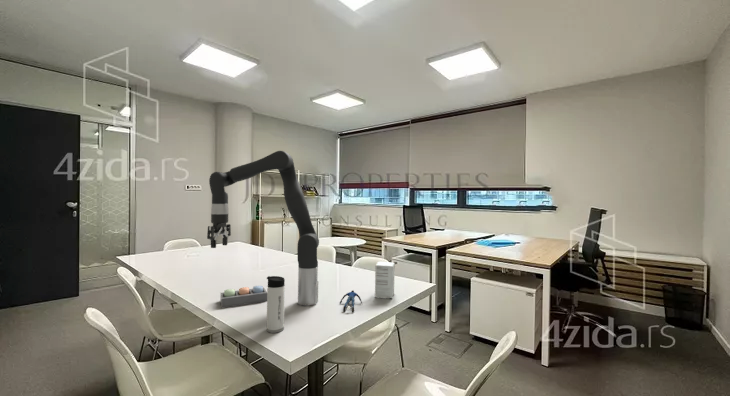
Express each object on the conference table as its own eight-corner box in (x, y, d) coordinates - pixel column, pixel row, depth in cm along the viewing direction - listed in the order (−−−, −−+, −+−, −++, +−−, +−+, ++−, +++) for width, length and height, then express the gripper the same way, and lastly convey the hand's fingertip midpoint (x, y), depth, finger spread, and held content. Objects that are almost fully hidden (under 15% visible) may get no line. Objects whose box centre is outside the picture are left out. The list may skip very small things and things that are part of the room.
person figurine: (360, 317, 128) (363, 298, 146) (360, 307, 128) (363, 289, 146) (336, 316, 129) (341, 297, 147) (336, 306, 128) (341, 288, 146)
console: (263, 295, 150) (263, 287, 150) (267, 301, 141) (267, 292, 141) (220, 301, 140) (220, 292, 140) (221, 307, 132) (221, 298, 132)
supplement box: (377, 292, 158) (378, 261, 158) (394, 293, 156) (394, 262, 157) (374, 297, 149) (375, 264, 149) (392, 299, 147) (393, 265, 147)
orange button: (248, 293, 144) (248, 286, 144) (249, 296, 140) (249, 289, 140) (238, 295, 142) (238, 288, 142) (239, 298, 138) (239, 290, 138)
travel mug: (267, 326, 113) (269, 274, 114) (285, 325, 114) (286, 274, 114) (263, 333, 107) (264, 279, 107) (282, 333, 108) (283, 278, 108)
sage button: (234, 295, 141) (234, 288, 141) (235, 298, 137) (235, 291, 137) (223, 297, 139) (223, 289, 139) (224, 300, 135) (224, 292, 135)
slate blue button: (261, 292, 147) (262, 285, 147) (263, 294, 143) (263, 287, 143) (252, 293, 145) (252, 286, 145) (253, 296, 141) (253, 288, 141)
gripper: (217, 213, 134) (216, 249, 133) (235, 212, 148) (235, 244, 148) (202, 213, 135) (202, 248, 135) (222, 212, 149) (221, 244, 149)
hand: (219, 246), depth 141 cm, fingers open, 8 cm apart
